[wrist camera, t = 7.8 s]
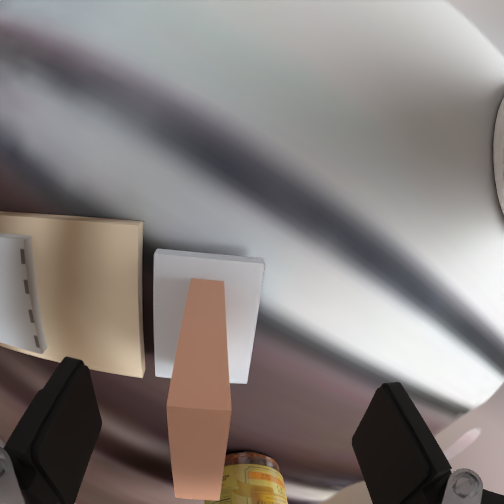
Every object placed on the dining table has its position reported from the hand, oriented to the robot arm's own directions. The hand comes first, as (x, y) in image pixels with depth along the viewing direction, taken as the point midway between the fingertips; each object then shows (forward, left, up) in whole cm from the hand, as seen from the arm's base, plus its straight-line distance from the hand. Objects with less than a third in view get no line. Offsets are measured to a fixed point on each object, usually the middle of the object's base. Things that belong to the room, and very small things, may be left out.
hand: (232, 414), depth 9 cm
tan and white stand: (+1, +1, -7) cm, 7 cm away
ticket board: (+14, +1, -8) cm, 17 cm away
